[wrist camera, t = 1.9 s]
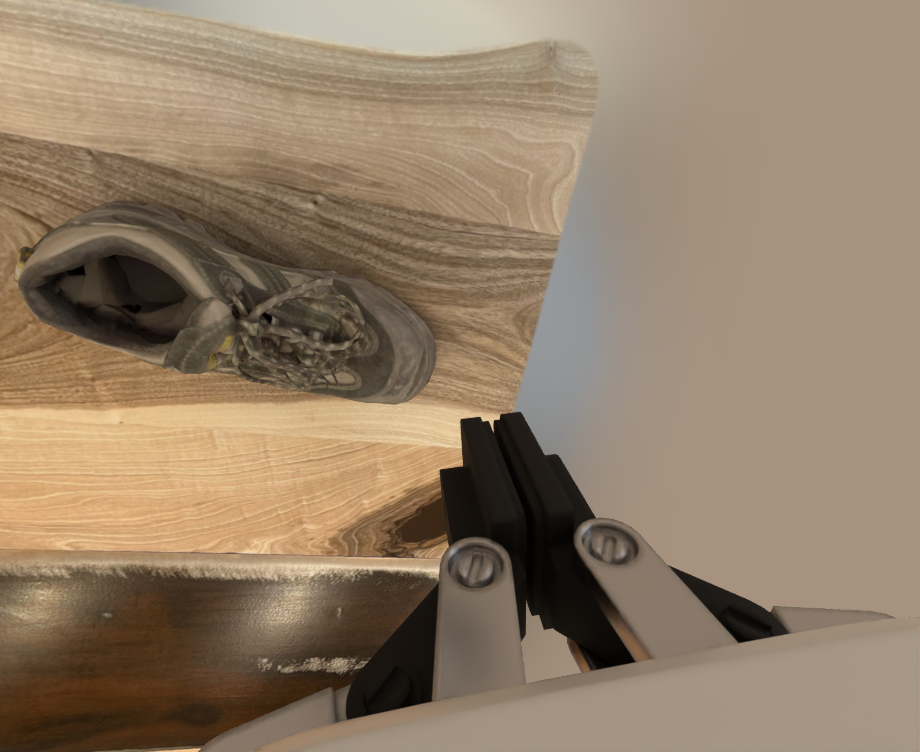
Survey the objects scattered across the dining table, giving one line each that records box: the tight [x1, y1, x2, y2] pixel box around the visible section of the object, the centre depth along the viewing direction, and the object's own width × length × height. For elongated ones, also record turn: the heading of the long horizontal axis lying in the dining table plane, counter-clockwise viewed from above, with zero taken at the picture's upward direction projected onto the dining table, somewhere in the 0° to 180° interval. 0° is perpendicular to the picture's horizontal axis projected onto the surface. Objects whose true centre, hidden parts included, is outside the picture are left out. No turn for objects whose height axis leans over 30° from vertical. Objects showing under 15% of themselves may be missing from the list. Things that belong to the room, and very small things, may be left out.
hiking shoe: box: [15, 201, 436, 404], centre depth 24 cm, size 9×21×12 cm, turn 67°
